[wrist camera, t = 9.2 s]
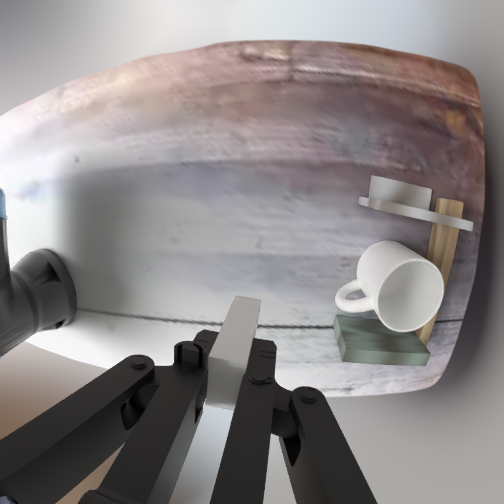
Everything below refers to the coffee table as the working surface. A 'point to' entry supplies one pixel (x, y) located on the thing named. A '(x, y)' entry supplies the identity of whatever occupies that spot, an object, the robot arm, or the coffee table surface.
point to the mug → (395, 287)
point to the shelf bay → (439, 253)
